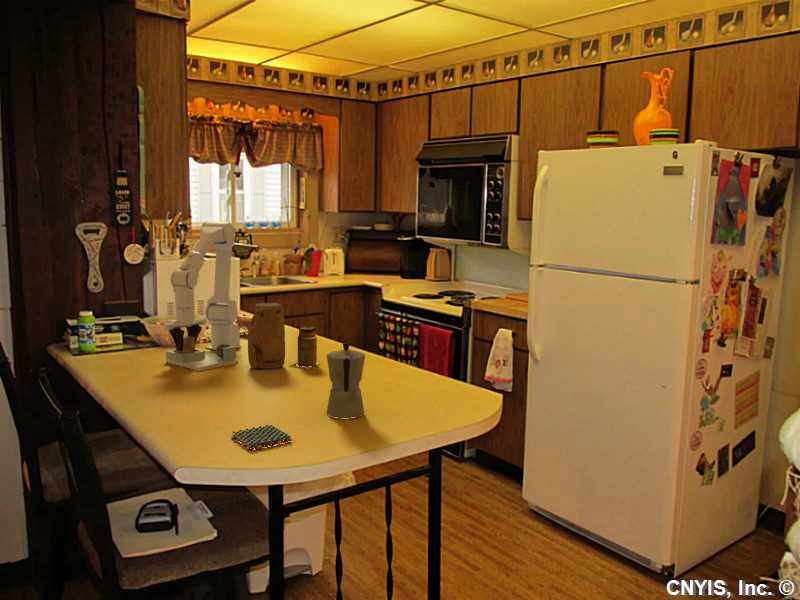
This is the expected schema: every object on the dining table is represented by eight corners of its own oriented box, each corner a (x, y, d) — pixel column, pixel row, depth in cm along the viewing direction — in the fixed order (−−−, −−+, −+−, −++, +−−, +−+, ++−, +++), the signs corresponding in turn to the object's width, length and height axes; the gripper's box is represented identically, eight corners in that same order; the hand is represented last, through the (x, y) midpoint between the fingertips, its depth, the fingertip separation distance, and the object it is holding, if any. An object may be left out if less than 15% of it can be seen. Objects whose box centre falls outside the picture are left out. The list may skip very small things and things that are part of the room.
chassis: (205, 354, 229) (205, 338, 228) (238, 362, 219) (238, 346, 218) (166, 362, 217) (165, 345, 216) (199, 371, 207) (198, 353, 206)
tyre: (227, 356, 220) (227, 343, 220) (231, 357, 219) (231, 343, 219) (216, 358, 217) (216, 345, 216) (220, 359, 216) (220, 346, 215)
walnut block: (186, 353, 220) (186, 335, 220) (195, 355, 218) (194, 336, 217) (176, 355, 217) (175, 336, 216) (184, 357, 215) (184, 338, 214)
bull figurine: (241, 331, 270) (241, 311, 269) (258, 337, 260) (258, 316, 259) (231, 332, 267) (231, 312, 266) (247, 338, 257) (247, 317, 256)
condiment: (321, 363, 220) (322, 327, 218) (308, 369, 212) (308, 331, 210) (302, 361, 223) (302, 325, 221) (288, 366, 215) (288, 329, 213)
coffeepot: (326, 406, 175) (326, 337, 172) (363, 406, 175) (364, 337, 173) (325, 425, 159) (326, 350, 157) (366, 425, 160) (367, 350, 158)
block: (279, 363, 219) (279, 301, 217) (286, 368, 213) (286, 304, 210) (246, 366, 215) (245, 303, 212) (252, 371, 208) (252, 306, 205)
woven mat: (250, 454, 142) (249, 445, 141) (229, 440, 150) (229, 431, 150) (294, 445, 148) (294, 436, 148) (272, 431, 156) (272, 422, 156)
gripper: (196, 303, 223) (197, 344, 225) (157, 308, 212) (158, 351, 214) (209, 306, 219) (210, 347, 221) (170, 311, 208) (171, 354, 210)
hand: (185, 349), depth 217 cm, fingers closed on walnut block, 4 cm apart
